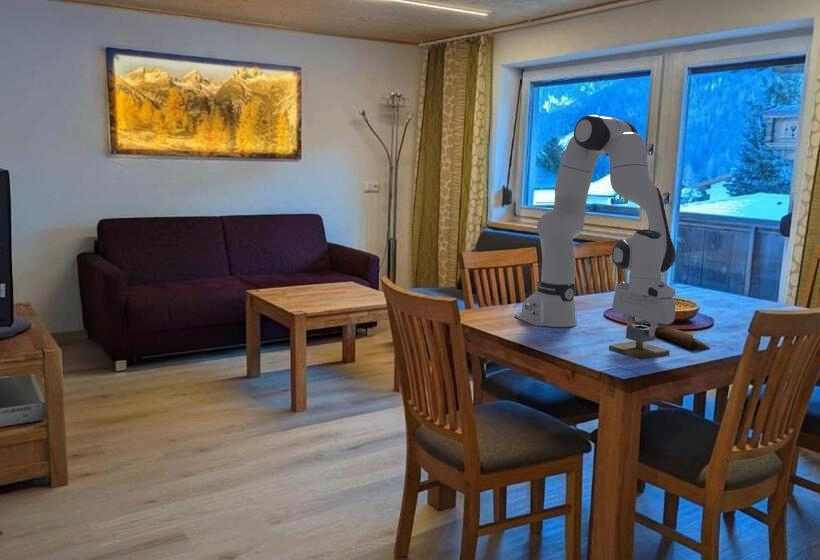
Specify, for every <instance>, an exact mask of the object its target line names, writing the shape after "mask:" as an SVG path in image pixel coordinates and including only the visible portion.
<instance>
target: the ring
mask: <svg viewBox="0 0 820 560" xmlns="http://www.w3.org/2000/svg"><path fill="white" fill-rule="evenodd" d="M650 327H651V326H648V325H644V324H640V323H638V324H634V325H632V326H626V332H625V339H627V340H629V341H630V340H631V341H637V342H643V343H647V342H652V341H653V342H654V341H655V331H656V329H655V330H654V336H647V335H646V333H647V332H646V330H647V329H649V328H650ZM639 328H641V329H639Z"/></svg>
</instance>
